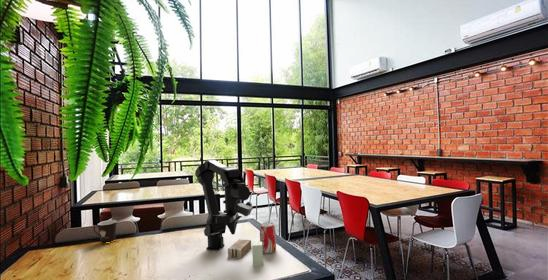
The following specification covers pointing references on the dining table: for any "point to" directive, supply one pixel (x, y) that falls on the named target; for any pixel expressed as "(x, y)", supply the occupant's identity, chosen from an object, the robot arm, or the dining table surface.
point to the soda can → (268, 237)
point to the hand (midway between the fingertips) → (233, 234)
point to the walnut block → (239, 248)
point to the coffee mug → (106, 231)
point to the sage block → (257, 253)
